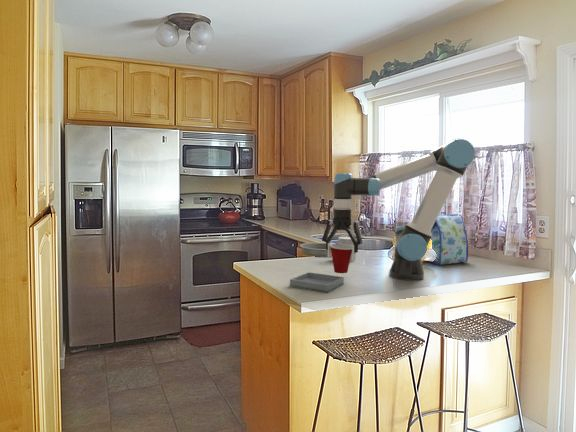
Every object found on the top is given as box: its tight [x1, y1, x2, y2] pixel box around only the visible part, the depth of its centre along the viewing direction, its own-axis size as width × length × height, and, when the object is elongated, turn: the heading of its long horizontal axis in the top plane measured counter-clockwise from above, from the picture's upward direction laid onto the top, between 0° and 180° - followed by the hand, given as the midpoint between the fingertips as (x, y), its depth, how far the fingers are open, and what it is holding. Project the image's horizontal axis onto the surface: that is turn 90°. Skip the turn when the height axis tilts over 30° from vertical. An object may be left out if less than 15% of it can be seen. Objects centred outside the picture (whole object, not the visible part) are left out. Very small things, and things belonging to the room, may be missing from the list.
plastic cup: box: [330, 243, 352, 274], centre depth 197 cm, size 11×11×12 cm
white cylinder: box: [337, 236, 356, 263], centre depth 239 cm, size 10×10×12 cm
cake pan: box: [299, 242, 328, 257], centre depth 261 cm, size 25×25×4 cm
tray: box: [289, 271, 345, 294], centre depth 184 cm, size 17×17×3 cm
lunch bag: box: [431, 213, 469, 265], centre depth 242 cm, size 22×17×26 cm
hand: (341, 258), depth 197 cm, fingers closed on plastic cup, 11 cm apart
